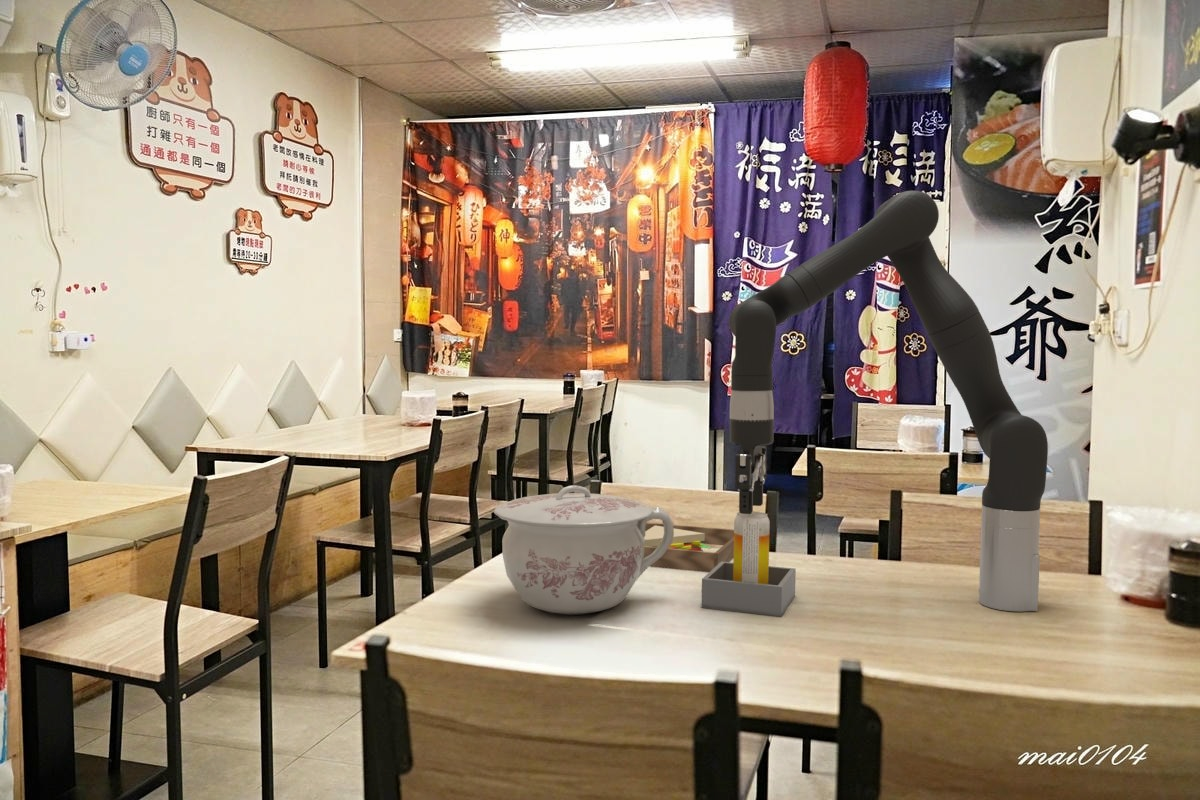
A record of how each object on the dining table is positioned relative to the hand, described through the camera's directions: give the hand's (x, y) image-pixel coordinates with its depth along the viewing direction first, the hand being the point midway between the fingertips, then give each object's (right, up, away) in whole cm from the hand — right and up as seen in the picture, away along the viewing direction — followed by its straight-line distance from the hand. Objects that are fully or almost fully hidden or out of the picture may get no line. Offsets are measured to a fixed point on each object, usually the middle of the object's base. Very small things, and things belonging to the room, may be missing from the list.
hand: (751, 509), depth 161 cm
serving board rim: (-10, -14, +36) cm, 40 cm away
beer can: (0, -16, +1) cm, 16 cm away
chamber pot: (-31, -17, -1) cm, 35 cm away
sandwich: (-15, -15, +36) cm, 42 cm away
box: (0, -16, +1) cm, 16 cm away
